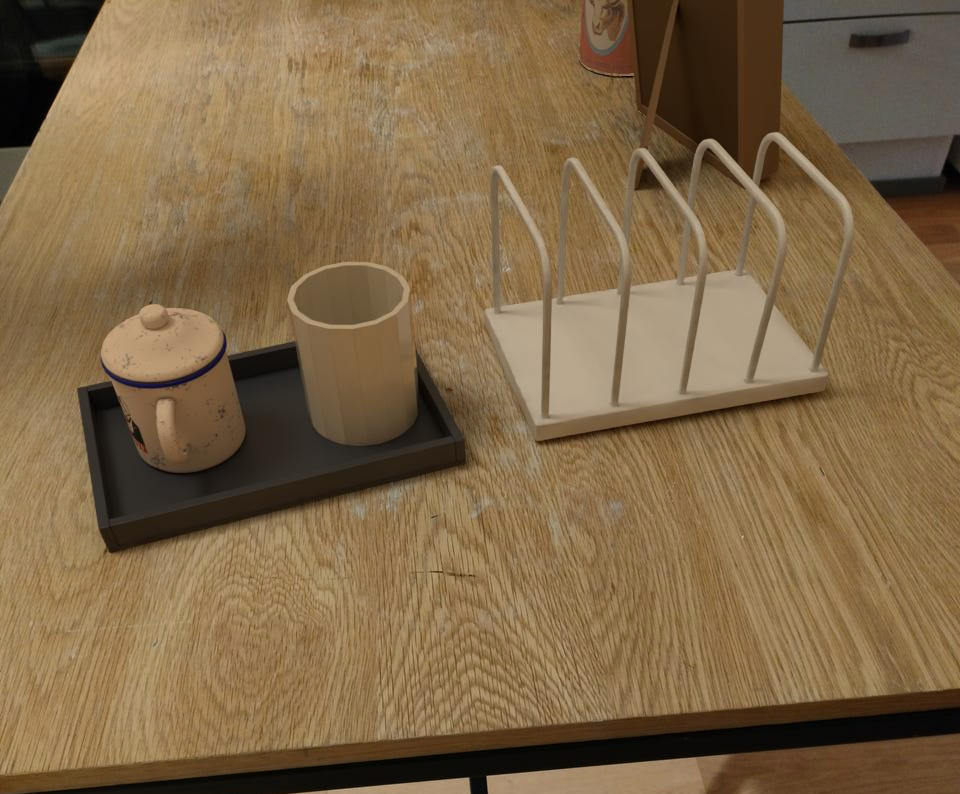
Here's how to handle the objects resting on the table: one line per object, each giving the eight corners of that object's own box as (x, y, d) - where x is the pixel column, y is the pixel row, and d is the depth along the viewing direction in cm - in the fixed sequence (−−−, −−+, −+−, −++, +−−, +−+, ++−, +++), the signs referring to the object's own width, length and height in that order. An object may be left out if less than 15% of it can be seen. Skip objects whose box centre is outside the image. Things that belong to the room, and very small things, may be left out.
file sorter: (741, 286, 91) (778, 111, 79) (824, 396, 80) (882, 214, 68) (483, 325, 87) (481, 149, 75) (534, 445, 77) (541, 263, 65)
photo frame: (667, 104, 116) (700, -159, 97) (776, 180, 104) (839, -105, 84) (559, 129, 113) (571, -139, 93) (659, 211, 100) (697, -80, 81)
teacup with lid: (139, 410, 80) (93, 281, 71) (250, 399, 80) (218, 270, 71) (127, 509, 72) (73, 379, 63) (248, 496, 73) (213, 365, 64)
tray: (108, 552, 70) (98, 529, 68) (86, 411, 81) (76, 387, 79) (466, 463, 76) (465, 439, 74) (401, 342, 86) (399, 318, 84)
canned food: (561, 64, 125) (566, -46, 115) (608, 36, 130) (616, -70, 121) (636, 84, 120) (647, -28, 111) (681, 55, 126) (696, -54, 116)
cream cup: (325, 460, 76) (303, 339, 68) (299, 395, 81) (276, 275, 73) (433, 434, 78) (425, 313, 69) (401, 372, 83) (389, 252, 75)
